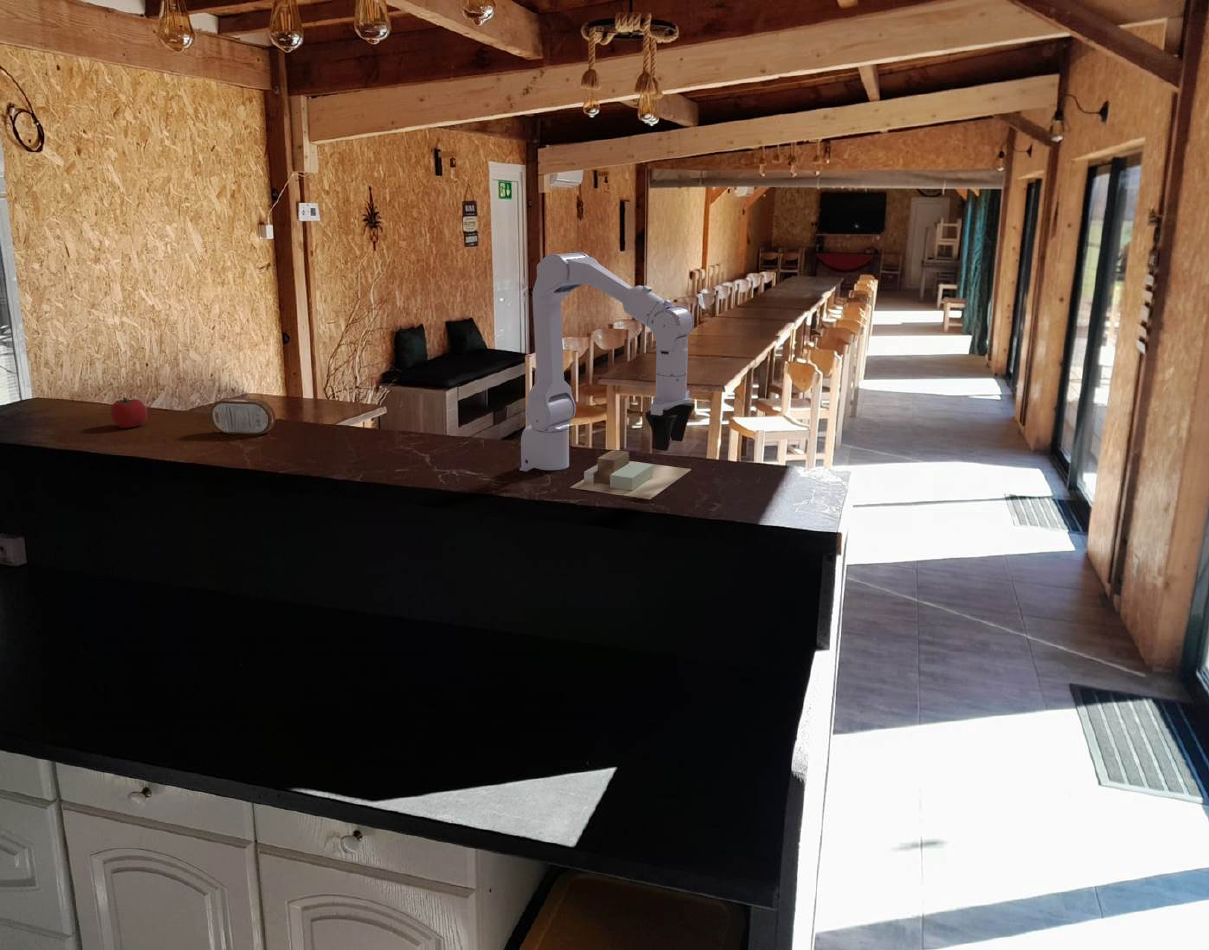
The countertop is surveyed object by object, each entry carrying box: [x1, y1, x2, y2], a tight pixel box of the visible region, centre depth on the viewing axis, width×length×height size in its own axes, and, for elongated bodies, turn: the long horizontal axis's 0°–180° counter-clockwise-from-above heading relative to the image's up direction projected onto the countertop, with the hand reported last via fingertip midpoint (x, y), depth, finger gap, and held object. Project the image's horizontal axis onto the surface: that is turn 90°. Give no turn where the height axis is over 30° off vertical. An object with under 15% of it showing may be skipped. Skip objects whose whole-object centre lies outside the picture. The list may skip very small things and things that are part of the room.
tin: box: [209, 397, 276, 436], centre depth 221 cm, size 15×3×8 cm, turn 84°
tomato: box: [110, 397, 149, 429], centre depth 228 cm, size 8×8×7 cm
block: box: [597, 449, 630, 485], centre depth 183 cm, size 4×7×5 cm, turn 155°
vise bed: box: [569, 460, 692, 502], centre depth 185 cm, size 16×22×1 cm
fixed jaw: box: [583, 463, 598, 486], centre depth 185 cm, size 2×10×2 cm, turn 155°
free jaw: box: [610, 461, 653, 491], centre depth 182 cm, size 5×10×2 cm, turn 155°
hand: (669, 445), depth 177 cm, fingers open, 7 cm apart
